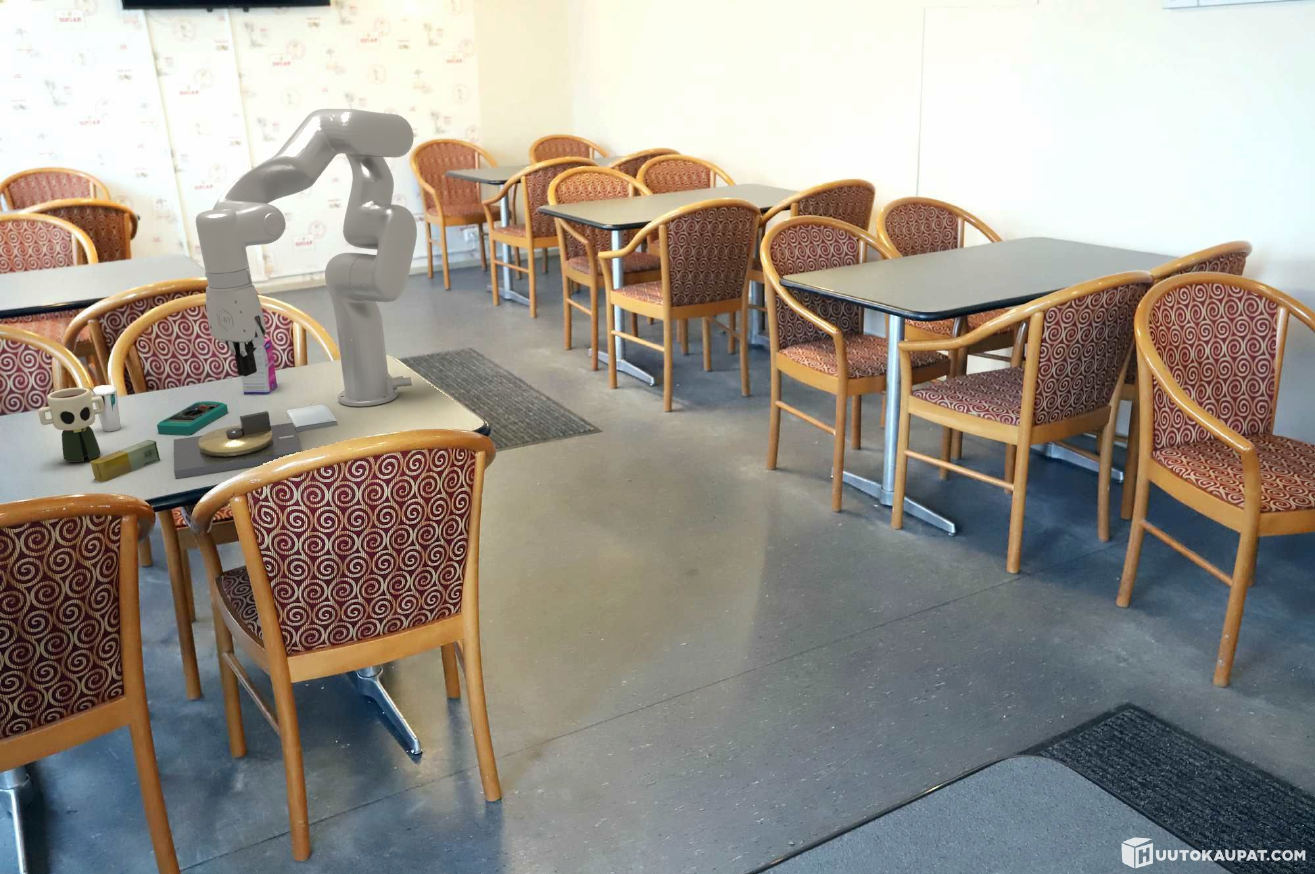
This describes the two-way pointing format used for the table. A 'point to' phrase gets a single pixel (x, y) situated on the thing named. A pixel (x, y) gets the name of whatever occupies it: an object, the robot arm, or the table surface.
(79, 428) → the character mug
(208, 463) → the base plate
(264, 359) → the supplement box
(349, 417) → the table surface
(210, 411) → the digital multimeter
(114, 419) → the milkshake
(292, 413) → the hard drive
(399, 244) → the robot arm
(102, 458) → the medication box
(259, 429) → the dial
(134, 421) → the table surface
